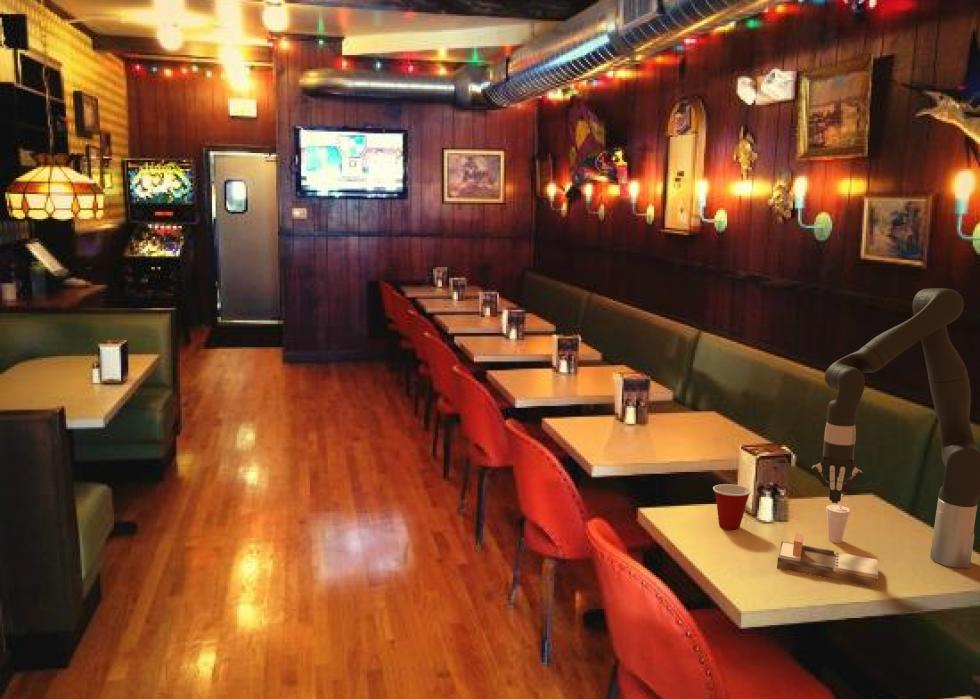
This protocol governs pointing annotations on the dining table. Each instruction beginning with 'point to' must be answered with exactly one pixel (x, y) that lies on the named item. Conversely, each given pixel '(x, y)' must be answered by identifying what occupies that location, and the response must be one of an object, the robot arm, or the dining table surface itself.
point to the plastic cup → (731, 504)
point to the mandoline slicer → (832, 565)
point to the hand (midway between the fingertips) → (834, 502)
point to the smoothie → (836, 521)
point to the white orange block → (793, 548)
